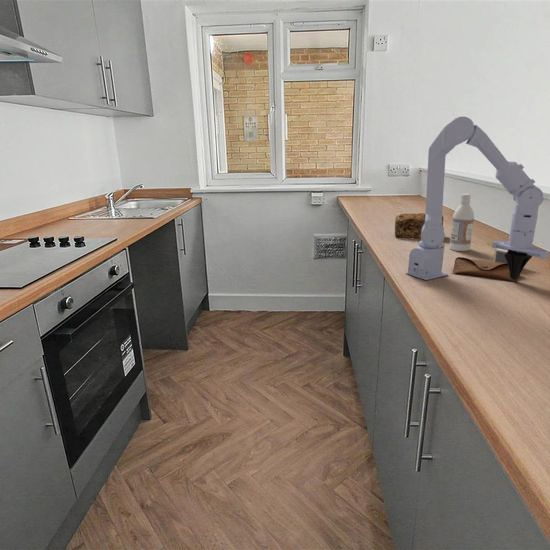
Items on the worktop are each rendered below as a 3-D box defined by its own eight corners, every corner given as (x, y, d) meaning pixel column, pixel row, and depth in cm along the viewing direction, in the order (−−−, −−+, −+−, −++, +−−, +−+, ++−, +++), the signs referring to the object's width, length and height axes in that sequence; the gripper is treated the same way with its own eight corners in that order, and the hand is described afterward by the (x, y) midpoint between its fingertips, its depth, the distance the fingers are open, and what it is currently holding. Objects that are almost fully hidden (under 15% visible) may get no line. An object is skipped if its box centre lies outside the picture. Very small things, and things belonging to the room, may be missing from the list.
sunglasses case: (450, 273, 122) (453, 252, 123) (451, 279, 128) (455, 259, 129) (519, 282, 114) (522, 259, 115) (517, 288, 120) (520, 266, 121)
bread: (441, 235, 173) (444, 212, 170) (441, 241, 163) (444, 216, 160) (396, 233, 179) (397, 210, 176) (393, 238, 170) (395, 214, 167)
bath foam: (462, 252, 145) (469, 195, 139) (445, 248, 151) (451, 194, 145) (473, 249, 149) (481, 194, 143) (456, 246, 154) (463, 192, 148)
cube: (509, 270, 125) (512, 253, 123) (492, 265, 130) (494, 249, 128) (520, 267, 127) (523, 250, 126) (503, 263, 132) (506, 246, 131)
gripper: (559, 233, 106) (549, 282, 110) (506, 224, 118) (499, 269, 122) (543, 236, 103) (534, 287, 107) (490, 227, 115) (483, 272, 119)
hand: (514, 277), depth 115 cm, fingers closed
